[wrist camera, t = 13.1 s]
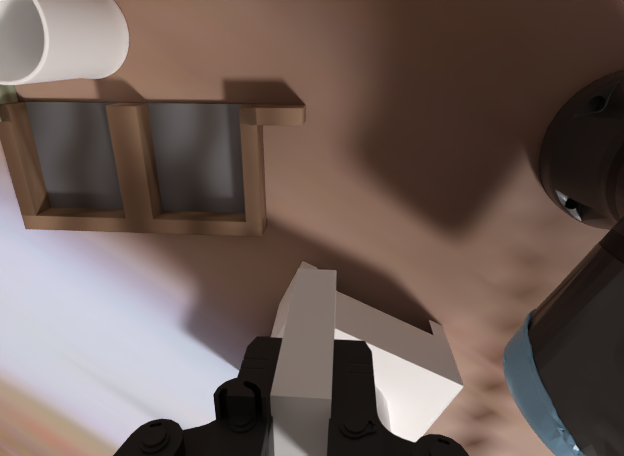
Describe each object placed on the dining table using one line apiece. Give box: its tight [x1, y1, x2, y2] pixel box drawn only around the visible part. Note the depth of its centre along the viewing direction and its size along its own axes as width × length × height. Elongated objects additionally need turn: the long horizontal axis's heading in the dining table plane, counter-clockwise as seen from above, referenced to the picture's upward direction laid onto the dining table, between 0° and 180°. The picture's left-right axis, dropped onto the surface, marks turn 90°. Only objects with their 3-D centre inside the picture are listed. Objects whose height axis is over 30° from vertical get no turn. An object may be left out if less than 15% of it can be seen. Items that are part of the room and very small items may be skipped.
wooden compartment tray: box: [0, 84, 305, 237], centre depth 40 cm, size 32×31×6 cm
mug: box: [0, 0, 129, 85], centre depth 35 cm, size 12×8×12 cm
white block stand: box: [271, 261, 464, 442], centre depth 40 cm, size 19×19×30 cm
